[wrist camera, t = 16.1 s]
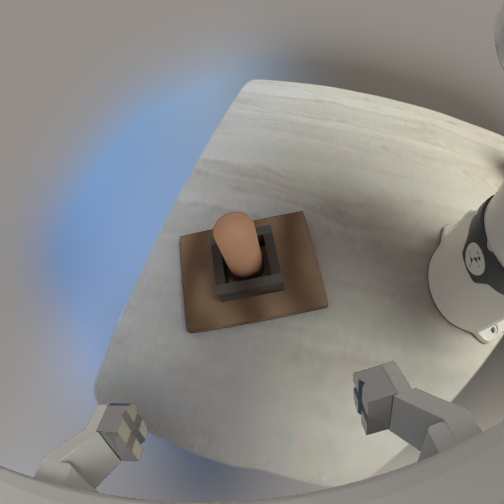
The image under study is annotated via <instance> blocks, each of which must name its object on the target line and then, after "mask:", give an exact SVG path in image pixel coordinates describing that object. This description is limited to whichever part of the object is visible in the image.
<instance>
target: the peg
mask: <svg viewBox="0 0 504 504" xmlns="http://www.w3.org/2000/svg"><path fill="white" fill-rule="evenodd" d="M213 236H214V239H215V241H216V243H217V245H218V247H219V249H220V251H221V253H222V255H223V257H224V259H225V262H226V264H227V266H228V268H229V270H230V272H231V274H232V276H233V277H234V279H235V280H237V281H242V280H247V279H252V278H257V277H261V276H262V274H263V271H264V263H263V259H262V255H261V250H260V246H259V242H258V238H257V233H256V229H255V225H254V222H253V220H252V219H251V218H250V217H249V216H248V215H246V214H244V213H240V212H233V213H228V214H226V215H224V216H222V217H221V218H220V219H219V220H218V221H217V222H216V224H215V226H214V229H213Z"/></svg>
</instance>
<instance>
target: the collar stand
mask: <svg viewBox="0 0 504 504" xmlns="http://www.w3.org/2000/svg"><path fill="white" fill-rule="evenodd" d="M253 222H254V225H255V229H256V233H257V238H258V242H259V246H260V250H261V255H262V259H263V263H264V271H263V274H262V276H261V277H257V278H252V279H247V280H242V281H237V280H235V279H234V277H233V276H232V274H231V272H230V270H229V268H228V266H227V264H226V262H225V259H224V257H223V255H222V253H221V251H220V249H219V247H218V245H217V243H216V241H215V239H214V236H213V229H212V230H207V231H203V232H198V233H193V234H189V235H184V236H180V244H181V260H182V275H183V288H184V300H185V311H186V322H187V331H188V332H190V333H196V332H202V331H208V330H215V329H221V328H226V327H232V326H238V325H243V324H249V323H254V322H260V321H265V320H270V319H275V318H280V317H285V316H290V315H295V314H299V313H304V312H309V311H313V310H318V309H322V308H327V306H328V302H327V298H326V294H325V290H324V286H323V282H322V279H321V275H320V271H319V267H318V263H317V260H316V256H315V252H314V249H313V245H312V242H311V238H310V235H309V231H308V227H307V224H306V221H305V217H304V214H303V211H300V212H295V213H290V214H285V215H279V216H274V217H269V218H265V219H260V220H255V221H253Z"/></svg>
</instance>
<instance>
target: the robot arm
mask: <svg viewBox="0 0 504 504" xmlns="http://www.w3.org/2000/svg"><path fill="white" fill-rule="evenodd" d="M494 39H495V47H496V52H497V56H498V59H499V62H500V64H501V66H502V68H503V70H504V2H503V3H502V5H501V7H500V9H499V11H498V13H497V16H496V20H495V26H494ZM428 279H429V287H430V291H431V295H432V297H433V300H434V302H435V304H436V306H437V308H438V309H439V311H440V312H441V313H442V315H443V316H444V317H445V318H446V319H447V320H448V321H449V322H451V323H452V324H453V325H455V326H457V327H459V328H461V329H464V330H467V331H469V332H471V333H473V334H474V335H475V336H476V337H477V338H478V339H479V340H480V341H481V342H482V343H485V344H486V343H489V342H490V341H492V340H493V339H494V338H496V337H497V336H498V335H499V334H500V333H502V332H503V331H504V181H503V183H502V185H501V186H500V188H499V189H498V191H497V192H496V194H495V195H493V196H491V197H490V198H488V199H487V200H486V201H485V202H484V203H483V204H482V205H481V206H480V207H479V209H478V210H477V211H473V210H470V211H469V212H467V213H466V215H465V216H464V217H463V218H462V219H461V220H460V221H459V222H458V223H457V224H449V225H447V226H446V227H445V228H444V229H443V231H442V236H441V243H440V245H439V247H438V248H437V249H436V251H435V252H434V254H433V256H432V258H431V261H430V265H429V272H428ZM491 329H492V330H493V333H492V332H491ZM353 381H354V383H355V386H356V387H355V388H354V389H353V390H354V401H355V405H356V409H357V412H358V413H359V414H361V422H362V425H363V428H364V430H365V433H366V435H368V434H372V433H376V432H380V431H383V430H386V429H389V430H390V431H391V432H393V433H394V434H396V435H397V436H399V437H400V438H402V439H403V440H405V441H406V442H408V443H409V444H411V445H412V446H414V447H415V448H417V449H418V450H420V451H421V453H420V456H419V459H418V461H417V462H415V463H413V464H410V465H407V466H405V467H402V468H399V469H396V470H393V471H390V472H387V473H384V474H381V475H378V476H374V477H371V478H367V479H364V480H360V481H357V482H353V483H349V484H345V485H341V486H337V487H332V488H328V489H323V490H318V491H313V492H307V493H302V494H296V495H290V496H282V497H275V498H266V499H257V500H244V501H228V502H172V501H155V500H144V499H135V498H126V497H118V496H112V495H106V494H100V493H98V492H97V491H96V490H95V488H96V487H97V486H98V485H99V484H100V483H101V482H102V481H103V480H104V479H105V478H106V477H107V476H108V475H109V474H110V472H112V471H113V470H114V468H115V467H116V466H117V465H118V464H119V463H120V462H121V460H123V461H140V458H141V454H142V451H143V448H142V446H141V444H142V443H143V442H144V441H145V440H146V437H147V426H146V423H145V421H144V419H143V418H142V417H140V416H139V415H137V412H138V410H137V408H136V407H135V405H134V404H117V403H110V404H107V403H100V404H98V405H97V407H96V409H95V411H94V413H93V415H92V417H91V419H90V421H89V423H88V425H87V427H86V429H85V431H81V432H79V433H78V434H76V435H75V436H74V437H72V438H71V439H69V440H68V441H67V442H66V443H64V444H62V445H61V446H60V447H58V448H57V449H56V450H54V451H53V452H51V453H50V454H48V455H47V456H45V457H44V459H43V461H42V463H41V464H40V466H39V468H38V471H37V473H36V474H35V477H30V476H27V475H24V474H21V473H18V472H15V471H13V470H9V469H7V468H5V467H2V466H0V504H504V420H502V421H501V422H499V423H497V424H496V425H494V426H492V427H490V428H488V429H487V430H485V431H483V432H482V431H481V429H480V428H479V426H478V425H477V423H476V422H475V420H474V419H473V418H472V416H471V415H470V413H469V412H468V410H467V409H465V408H462V407H460V406H458V405H455V404H452V403H450V402H448V401H445V400H443V399H441V398H438V397H436V396H433V395H431V394H429V393H426V392H424V391H422V390H419V389H417V388H414V389H412V388H411V387H410V385H409V383H408V382H407V380H406V378H405V377H404V375H403V374H402V372H401V370H400V369H399V367H398V366H397V364H396V362H394V361H392V362H388V363H385V364H382V365H379V366H376V367H372V368H369V369H365V370H362V371H358V372H354V375H353Z"/></svg>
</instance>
